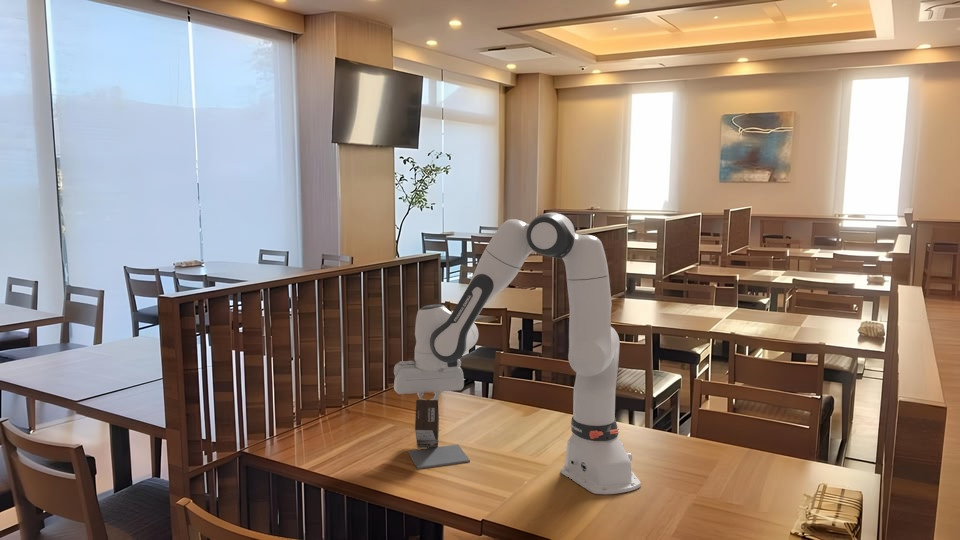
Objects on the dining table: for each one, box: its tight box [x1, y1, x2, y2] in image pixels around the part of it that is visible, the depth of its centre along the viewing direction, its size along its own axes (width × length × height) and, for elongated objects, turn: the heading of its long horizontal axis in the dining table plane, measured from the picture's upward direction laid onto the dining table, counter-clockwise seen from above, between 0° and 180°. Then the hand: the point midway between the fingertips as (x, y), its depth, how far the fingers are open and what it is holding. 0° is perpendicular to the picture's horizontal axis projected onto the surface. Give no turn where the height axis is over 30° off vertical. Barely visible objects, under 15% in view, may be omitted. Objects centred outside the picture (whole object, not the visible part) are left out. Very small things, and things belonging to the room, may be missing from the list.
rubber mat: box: [408, 443, 471, 470], centre depth 192 cm, size 12×15×1 cm
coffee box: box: [414, 399, 440, 449], centre depth 194 cm, size 9×6×16 cm
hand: (428, 405), depth 196 cm, fingers closed
